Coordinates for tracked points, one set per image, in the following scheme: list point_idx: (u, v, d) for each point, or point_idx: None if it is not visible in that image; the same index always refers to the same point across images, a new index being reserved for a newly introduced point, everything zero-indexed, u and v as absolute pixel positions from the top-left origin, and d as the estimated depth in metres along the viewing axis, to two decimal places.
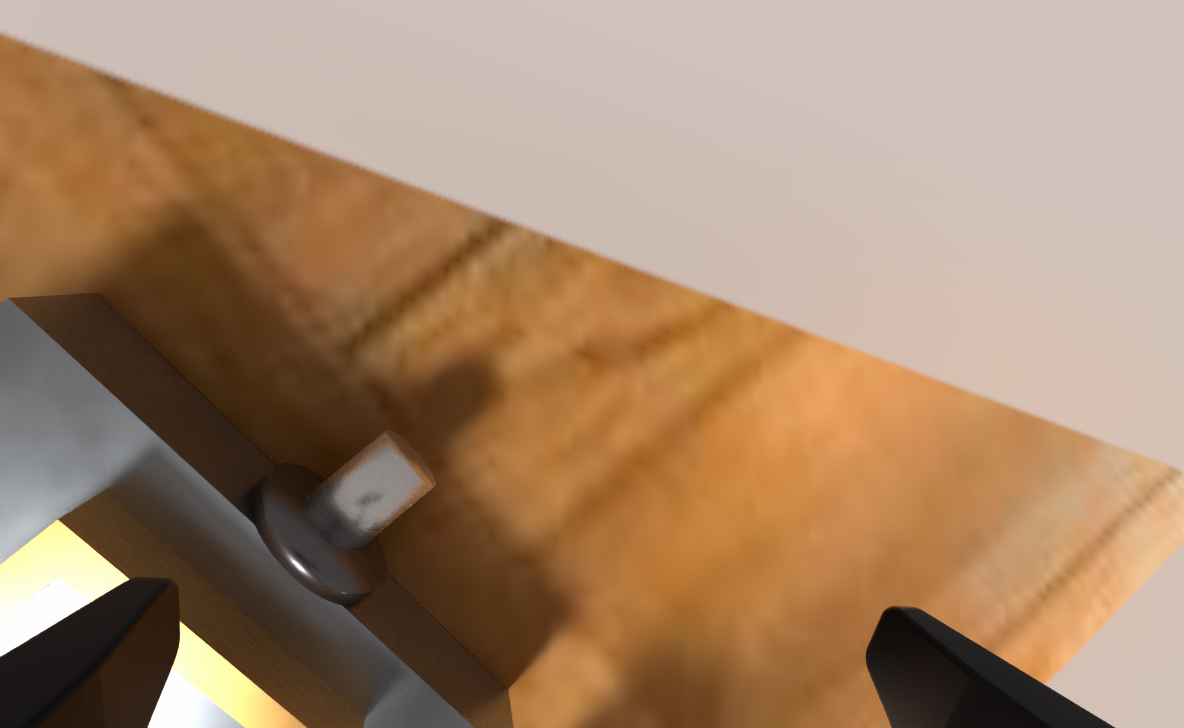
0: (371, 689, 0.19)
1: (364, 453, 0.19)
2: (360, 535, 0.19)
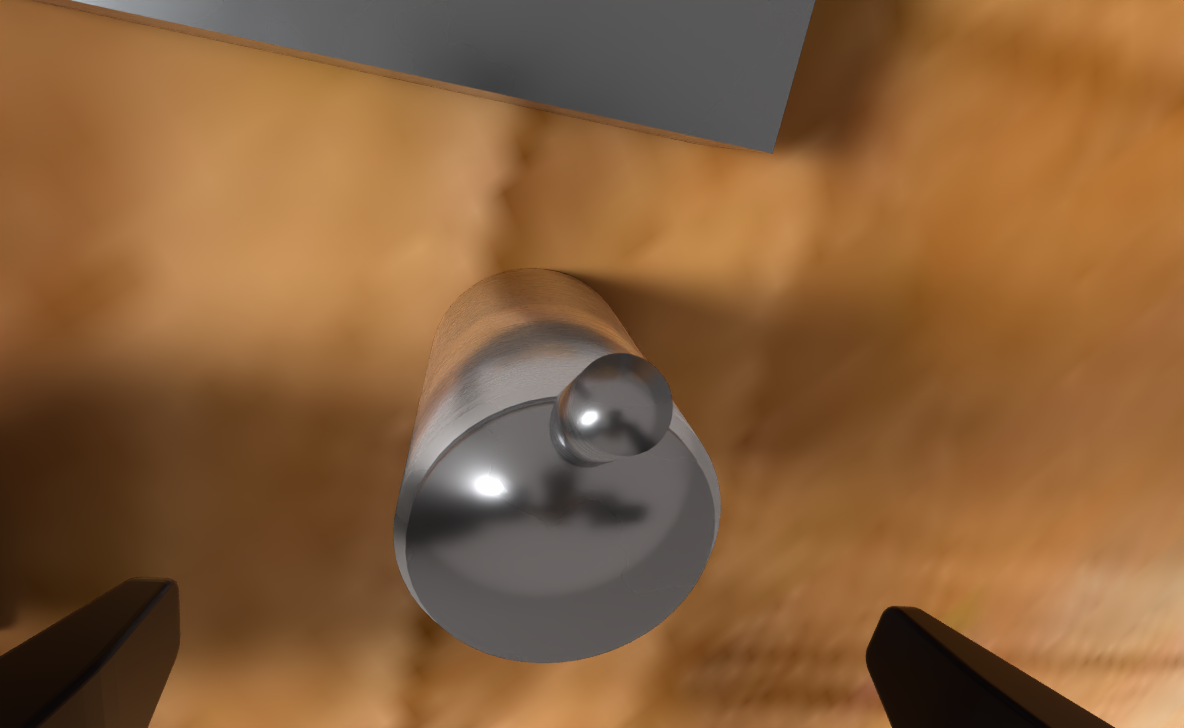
0: None
1: None
2: None
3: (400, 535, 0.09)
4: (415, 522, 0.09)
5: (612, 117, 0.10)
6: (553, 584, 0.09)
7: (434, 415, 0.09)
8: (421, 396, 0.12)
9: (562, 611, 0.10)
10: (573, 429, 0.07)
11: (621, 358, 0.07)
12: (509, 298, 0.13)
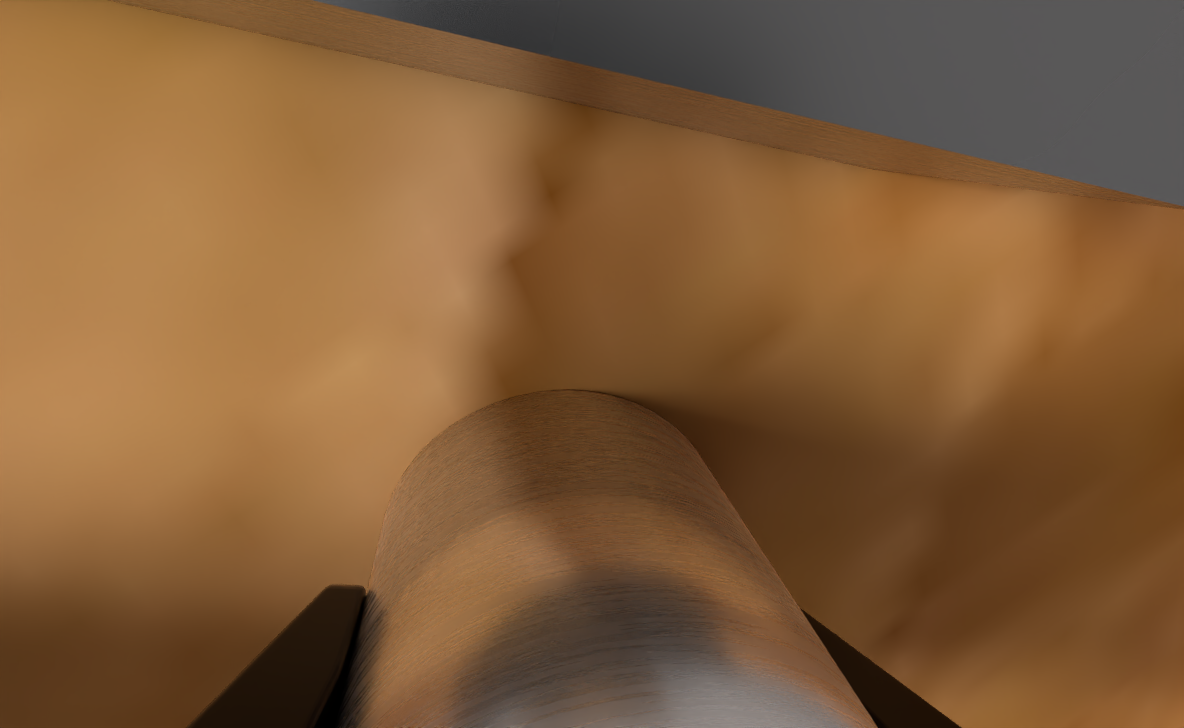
0: None
1: None
2: None
3: None
4: None
5: (837, 120, 0.04)
6: None
7: None
8: None
9: None
10: None
11: None
12: (525, 498, 0.06)
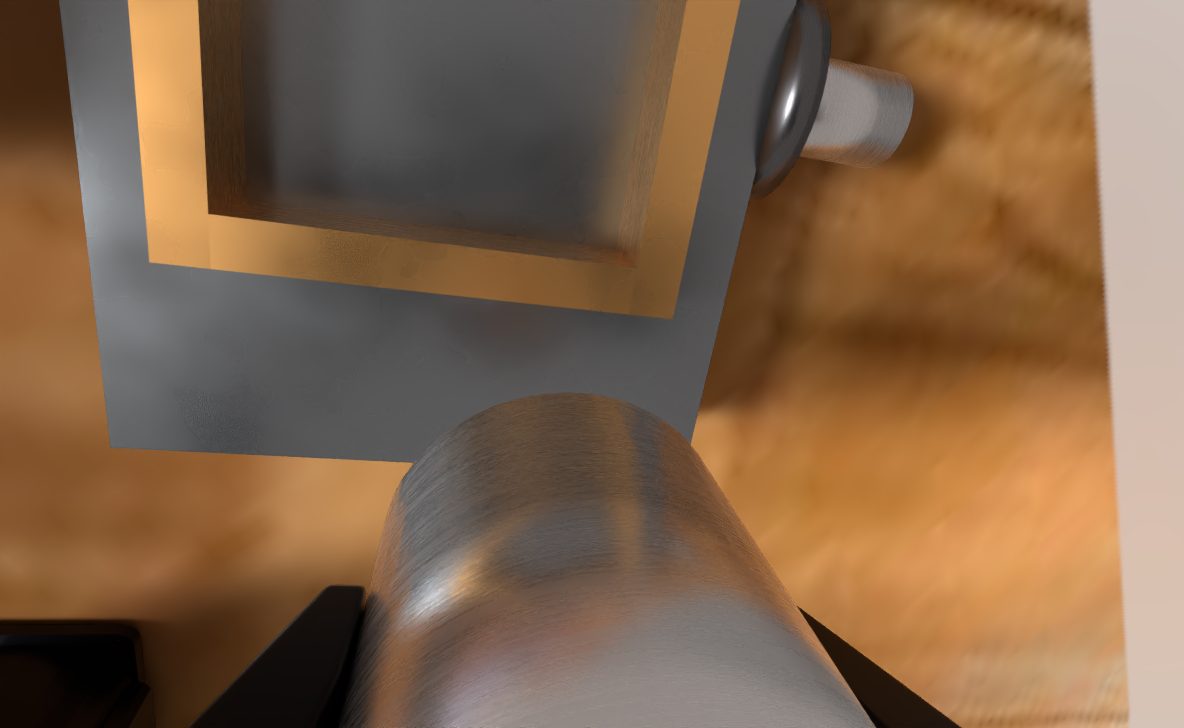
0: (682, 275, 0.15)
1: (875, 68, 0.16)
2: (809, 133, 0.15)
3: None
4: None
5: None
6: None
7: None
8: None
9: None
10: None
11: None
12: (526, 500, 0.06)
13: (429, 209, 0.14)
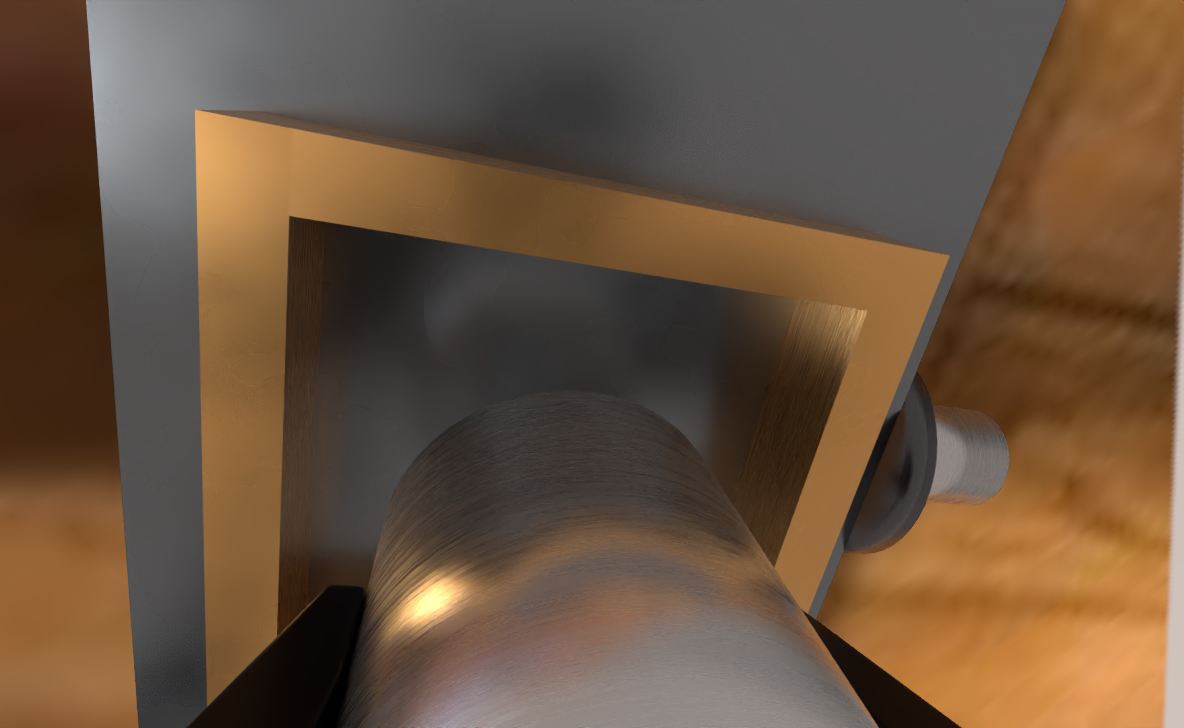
0: None
1: (969, 421, 0.15)
2: None
3: None
4: None
5: None
6: None
7: None
8: None
9: None
10: None
11: None
12: (526, 498, 0.06)
13: None
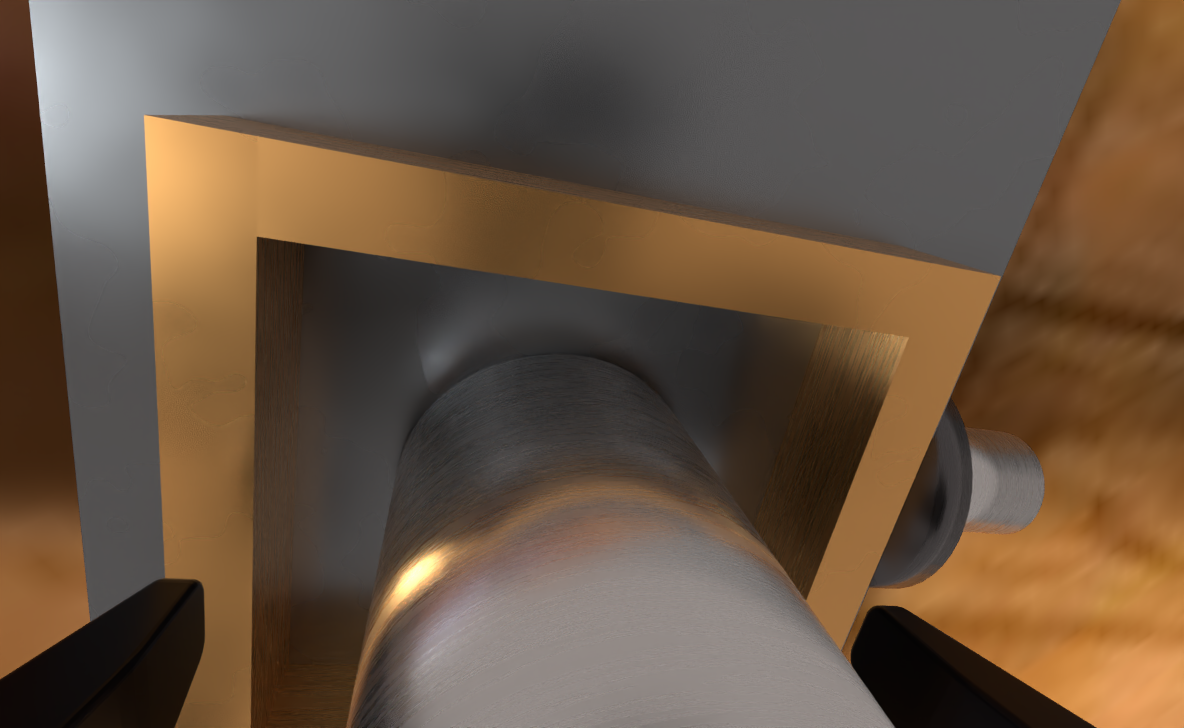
0: None
1: (1001, 445, 0.14)
2: None
3: None
4: None
5: None
6: None
7: None
8: (366, 628, 0.07)
9: None
10: None
11: None
12: (522, 430, 0.07)
13: None
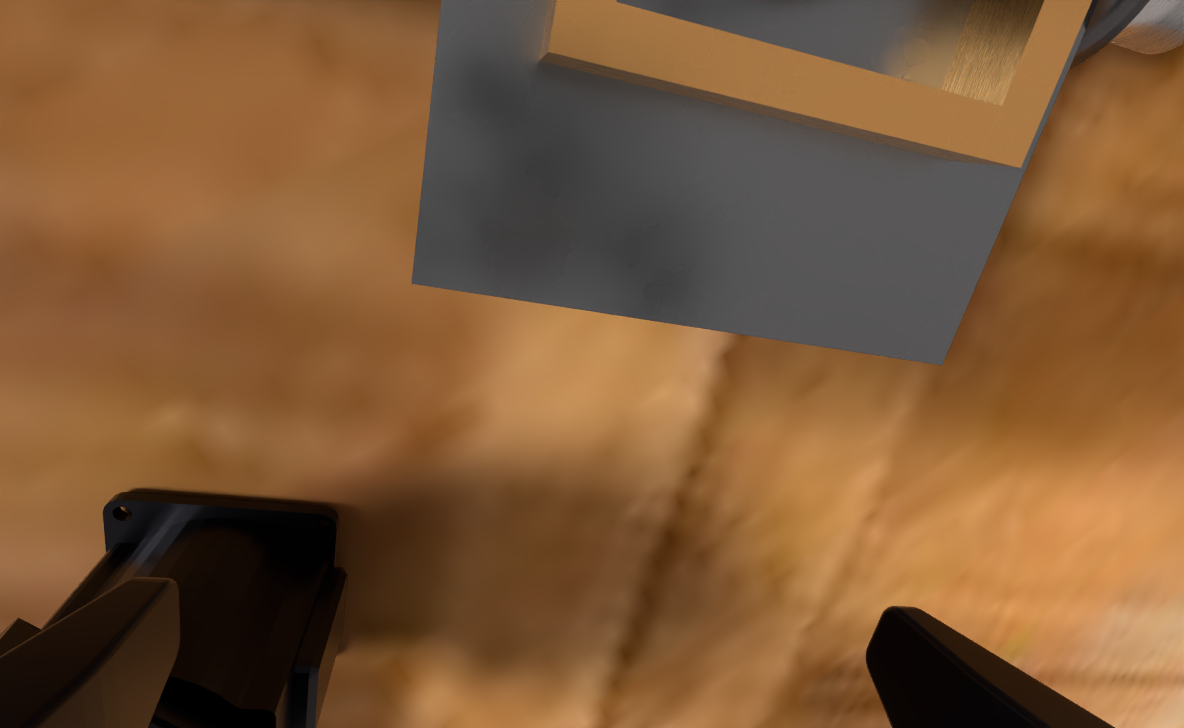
0: None
1: None
2: None
3: None
4: None
5: (848, 350, 0.16)
6: None
7: None
8: None
9: None
10: None
11: None
12: None
13: None
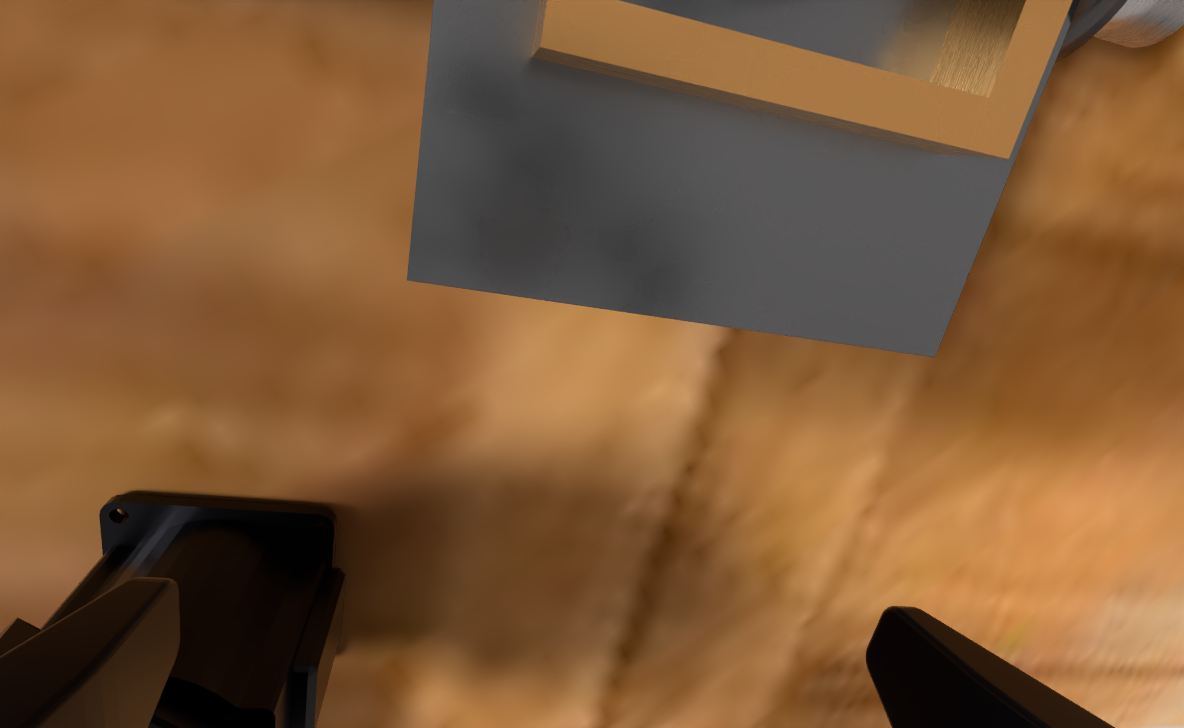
0: None
1: None
2: None
3: None
4: None
5: (842, 343, 0.16)
6: None
7: None
8: None
9: None
10: None
11: None
12: None
13: None
